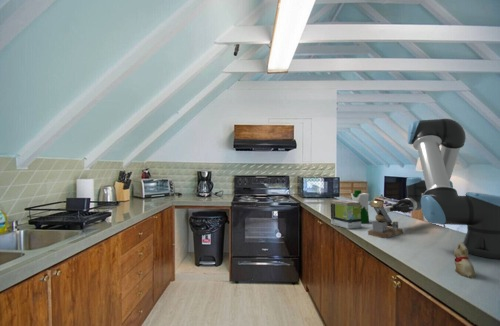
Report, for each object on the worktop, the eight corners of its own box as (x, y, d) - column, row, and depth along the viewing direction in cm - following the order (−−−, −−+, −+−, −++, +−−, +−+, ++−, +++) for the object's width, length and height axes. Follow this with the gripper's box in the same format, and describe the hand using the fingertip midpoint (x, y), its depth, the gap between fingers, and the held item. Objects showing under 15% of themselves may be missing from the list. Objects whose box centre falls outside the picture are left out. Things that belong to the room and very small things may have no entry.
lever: (384, 220, 139) (371, 199, 132) (394, 222, 135) (381, 200, 128) (382, 225, 137) (369, 204, 131) (392, 227, 133) (379, 205, 127)
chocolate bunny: (477, 271, 85) (475, 240, 85) (474, 279, 79) (473, 246, 80) (455, 267, 89) (454, 237, 89) (451, 274, 83) (450, 242, 84)
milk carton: (350, 221, 165) (349, 190, 165) (359, 220, 169) (358, 189, 170) (362, 224, 157) (361, 191, 158) (371, 222, 162) (370, 190, 162)
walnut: (384, 222, 129) (384, 215, 129) (376, 222, 130) (376, 214, 130) (382, 220, 133) (381, 213, 133) (374, 220, 133) (374, 213, 134)
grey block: (377, 230, 134) (376, 220, 135) (386, 231, 130) (386, 221, 130) (372, 231, 132) (372, 221, 132) (382, 233, 128) (382, 222, 128)
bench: (385, 229, 143) (385, 218, 143) (402, 232, 136) (402, 221, 136) (368, 234, 133) (367, 222, 133) (385, 238, 126) (385, 225, 126)
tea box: (362, 227, 149) (361, 201, 150) (348, 229, 146) (347, 202, 146) (343, 222, 163) (342, 199, 164) (330, 224, 160) (329, 200, 160)
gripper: (419, 213, 143) (398, 219, 130) (395, 210, 154) (373, 215, 140) (419, 199, 143) (398, 203, 130) (394, 197, 154) (372, 201, 140)
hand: (385, 209), depth 135 cm, fingers closed
